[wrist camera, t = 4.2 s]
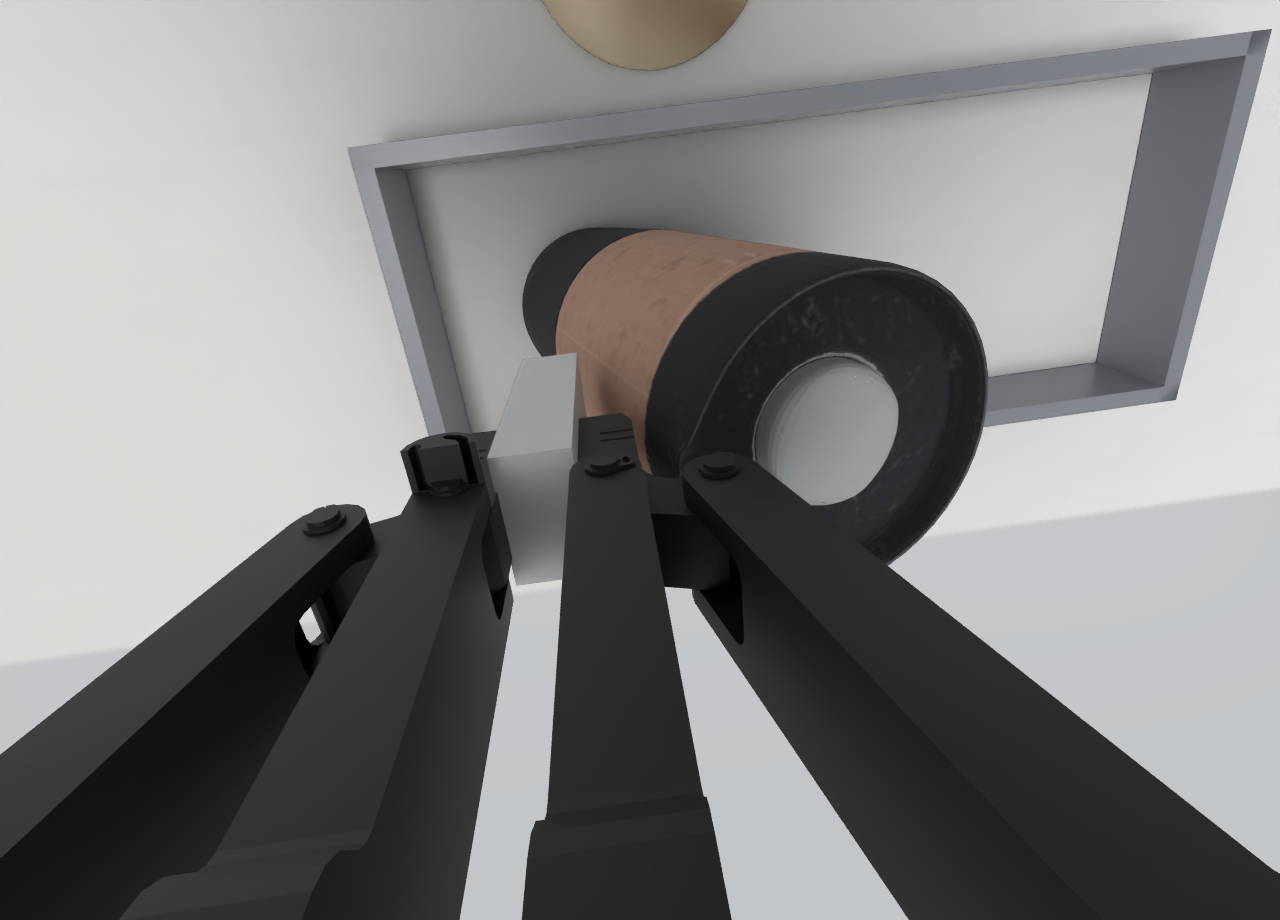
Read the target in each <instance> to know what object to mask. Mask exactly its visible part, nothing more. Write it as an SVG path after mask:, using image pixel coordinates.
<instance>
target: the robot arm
mask: <svg viewBox="0 0 1280 920" xmlns="http://www.w3.org/2000/svg"><path fill="white" fill-rule="evenodd" d="M400 452H401V456H402V459H403V462H404V466H405V469H406V473H407V476H408V479H409V483H410V486H411V489H412V495H411V497H410V499H409V501H408V502H407V504H406V506H405V508H404V510H403V511H402V513H401V515H399V516H396V517H393V518H389V519H386V520H382V521H378V522H375V523H371V524H370V523H369V520H368V517H367V514H366V511H365V509H364V508H362V507H360V506H359V505H350V504H345V505H329V506H326V508H324V507H321V508H318V509H315V510H314V511H313V512H312V513H309V514H307V515H305V516H302V517H301V518H299V519H298V520H296V521H295V522H293V523H291V524H290V525H289V526H288V527H286V528H285V529H284V530H282V531H281V532H280V533H279V534H277V535H276V536H275V537H274V538H272V539H271V540H270V541H269V542H267V543H266V544H265V545H264V546H262V547H261V548H260V549H259V550H257V551H256V552H255V553H254V554H252V555H251V556H250V557H248V558H247V559H246V560H245V561H243V562H242V563H241V564H240V565H238V566H237V567H236V568H235V569H233V570H232V571H231V572H230V573H228V574H227V575H226V576H225V577H223V578H222V579H221V580H220V581H218V582H217V583H216V584H215V585H213V586H212V587H211V588H209V589H208V590H207V591H206V592H204V593H203V594H202V595H201V596H199V597H198V598H197V599H196V600H194V601H193V602H192V603H191V604H189V605H188V606H187V607H186V608H184V609H183V610H182V611H181V612H179V613H178V614H177V615H175V616H174V617H173V618H172V619H170V620H169V621H168V622H167V623H165V624H164V625H163V626H162V627H160V628H159V629H158V630H157V631H155V632H154V633H153V634H152V635H150V636H149V637H148V638H147V639H145V640H144V641H143V642H142V643H140V644H139V645H138V646H136V647H135V648H134V649H133V650H131V651H130V652H129V653H128V654H127V655H125V656H124V657H123V658H121V659H120V660H119V661H118V662H116V663H115V664H114V665H113V666H111V667H110V668H109V669H108V670H106V671H105V672H104V673H103V674H101V675H100V676H99V677H97V678H96V679H95V680H94V681H92V682H91V683H90V684H89V685H87V686H86V687H85V688H84V689H82V690H81V691H80V692H79V693H77V694H76V695H75V696H74V697H72V698H71V699H70V700H69V701H67V702H66V703H65V704H64V705H62V706H61V707H60V708H58V709H57V710H56V711H55V712H54V713H52V714H51V715H50V716H48V717H47V718H46V719H45V720H43V721H42V722H41V723H40V724H38V725H37V726H36V727H35V728H33V729H32V730H31V731H30V732H28V733H27V734H26V735H24V736H23V737H22V738H21V739H19V740H18V741H17V742H16V743H14V744H13V745H12V746H11V747H9V748H8V749H7V750H6V751H4V752H3V753H2V754H1V755H0V920H459V919H460V913H461V907H462V901H463V896H464V890H465V883H466V878H467V872H468V866H469V860H470V854H471V848H472V842H473V837H474V830H475V825H476V819H477V813H478V807H479V801H480V795H481V789H482V783H483V778H484V771H485V765H486V760H487V754H488V748H489V742H490V736H491V730H492V724H493V719H494V713H495V707H496V701H497V695H498V689H499V683H500V677H501V671H502V665H503V659H504V654H505V648H506V642H507V636H508V630H509V624H510V618H511V612H512V606H513V595H512V590H511V586H510V582H509V578H508V577H509V572H510V567H511V564H512V569H513V573H514V577H515V582H516V586H517V585H524V584H531V583H539V582H546V581H554V580H561V579H562V593H561V609H560V624H559V639H558V654H557V669H556V685H555V701H554V716H553V731H552V747H551V761H550V776H549V777H550V778H549V792H548V805H547V813H546V817H545V820H540V821H536V822H535V824H534V827H533V830H532V832H531V837H530V844H529V850H528V858H527V868H526V880H525V890H524V901H523V912H522V920H732V919H731V914H730V909H729V904H728V899H727V894H726V888H725V883H724V878H723V873H722V868H721V862H720V857H719V852H718V847H717V842H716V836H715V831H714V827H713V822H712V817H711V813H710V808H709V804H708V801H707V797H704V795H703V792H702V787H701V782H700V776H699V771H698V766H697V760H696V755H695V749H694V744H693V739H692V733H691V728H690V723H689V718H688V712H687V706H686V701H685V696H684V690H683V685H682V679H681V675H680V669H679V663H678V658H677V653H676V647H675V642H674V636H673V631H672V625H671V620H670V615H669V609H668V604H667V598H666V593H665V588H664V587H675V588H687V589H692V595H693V598H694V601H695V604H696V605H697V607H698V608H699V610H700V611H701V613H702V614H703V616H704V617H705V619H706V620H707V621H708V623H709V624H710V626H711V627H712V629H713V630H714V632H715V633H716V635H717V636H718V638H719V639H720V641H721V642H722V644H723V645H724V647H725V648H726V650H727V651H728V652H729V654H730V656H731V657H732V658H733V660H734V661H735V663H736V664H737V666H738V667H739V669H740V670H741V672H742V673H743V675H744V676H745V678H746V679H747V681H748V682H749V684H750V685H751V687H752V688H753V690H754V691H755V693H756V694H757V696H758V697H759V698H760V700H761V701H762V703H763V704H764V706H765V707H766V709H767V710H768V712H769V713H770V715H771V716H772V718H773V719H774V721H775V722H776V724H777V725H778V727H779V728H780V729H781V731H782V733H783V734H784V735H785V737H786V738H787V740H788V741H789V743H790V744H791V746H792V747H793V749H794V750H795V752H796V753H797V755H798V756H799V758H800V759H801V761H802V762H803V764H804V765H805V767H806V768H807V770H808V771H809V772H810V774H811V775H812V777H813V778H814V780H815V781H816V783H817V784H818V786H819V787H820V789H821V790H822V791H823V793H824V795H825V796H826V797H827V799H828V800H829V802H830V804H831V805H832V807H833V808H834V810H835V811H836V812H837V814H838V815H839V817H840V818H841V820H842V821H843V823H844V824H845V826H846V827H847V829H848V830H849V832H850V833H851V835H852V836H853V837H854V839H855V841H856V842H857V844H858V845H859V847H860V848H861V849H862V851H863V852H864V854H865V855H866V857H867V858H868V860H869V861H870V863H871V864H872V866H873V867H874V869H875V870H876V872H877V873H878V874H879V876H880V878H881V879H882V881H883V882H884V883H885V885H886V887H887V888H888V889H889V891H890V892H891V894H892V895H893V897H894V898H895V900H896V901H897V903H898V904H899V906H900V907H901V909H902V910H903V912H904V913H905V915H906V916H907V918H908V919H909V920H1280V873H1278V872H1276V871H1274V870H1273V869H1271V868H1270V867H1269V866H1267V865H1266V864H1265V863H1264V862H1262V861H1261V860H1260V859H1259V858H1257V857H1256V856H1255V855H1253V854H1252V853H1251V852H1250V851H1248V850H1247V849H1246V848H1245V847H1243V846H1242V845H1241V844H1240V843H1238V842H1237V841H1236V840H1234V839H1233V838H1232V837H1231V836H1229V835H1228V834H1227V833H1226V832H1224V831H1223V830H1222V829H1221V828H1219V827H1218V826H1217V825H1215V824H1214V823H1213V822H1212V821H1210V820H1209V819H1208V818H1207V817H1205V816H1204V815H1203V814H1201V813H1200V812H1199V811H1198V810H1196V809H1195V808H1194V807H1193V806H1191V805H1190V804H1189V803H1188V802H1186V801H1185V800H1184V799H1183V798H1181V797H1180V796H1179V795H1177V794H1176V793H1175V792H1174V791H1172V790H1171V789H1170V788H1168V787H1167V786H1166V785H1165V784H1164V783H1162V782H1161V781H1160V780H1158V779H1157V778H1156V777H1155V776H1153V775H1152V774H1151V773H1149V772H1148V771H1147V770H1146V769H1144V768H1143V767H1142V766H1141V765H1139V764H1138V763H1137V762H1136V761H1134V760H1133V759H1132V758H1130V757H1129V756H1128V755H1127V754H1125V753H1124V752H1123V751H1122V750H1120V749H1119V748H1118V747H1117V746H1115V745H1114V744H1113V743H1112V742H1110V741H1109V740H1108V739H1106V738H1105V737H1104V736H1103V735H1101V734H1100V733H1099V732H1098V731H1096V730H1095V729H1094V728H1093V727H1091V726H1090V725H1089V724H1087V723H1086V722H1085V721H1083V720H1082V719H1081V718H1080V717H1078V716H1077V715H1076V714H1075V713H1073V712H1072V711H1071V710H1070V709H1068V708H1067V707H1066V706H1064V705H1063V704H1062V703H1061V702H1059V701H1058V700H1057V699H1056V698H1054V697H1053V696H1052V695H1051V694H1049V693H1048V692H1047V691H1046V690H1044V689H1043V688H1042V687H1040V686H1039V685H1038V684H1037V683H1035V682H1034V681H1033V680H1032V679H1030V678H1029V677H1028V676H1026V675H1025V674H1024V673H1023V672H1021V671H1020V670H1019V669H1018V668H1016V667H1015V666H1014V665H1012V664H1011V663H1010V662H1009V661H1008V660H1006V659H1005V658H1004V657H1002V656H1001V655H1000V654H999V653H997V652H996V651H995V650H994V649H992V648H991V647H990V646H989V645H987V644H986V643H985V642H983V641H982V640H981V639H980V638H978V637H977V636H976V635H975V634H973V633H972V632H971V631H970V630H968V629H967V628H966V627H964V626H963V625H962V624H961V623H959V622H958V621H957V620H956V619H954V618H953V617H952V616H951V615H949V614H948V613H947V612H945V611H944V610H943V609H942V608H940V607H939V606H938V605H937V604H935V603H934V602H933V601H931V600H930V599H929V598H928V597H926V596H925V595H924V594H923V593H921V592H920V591H919V590H918V589H916V588H915V587H914V586H913V585H911V584H910V583H909V582H907V581H906V580H905V579H903V578H902V577H901V576H900V575H899V574H897V573H896V572H895V571H893V570H892V569H891V568H890V567H888V566H887V565H886V564H885V563H883V562H882V561H881V560H880V559H878V558H877V557H876V556H874V555H873V554H872V553H871V552H869V551H868V550H867V549H866V548H864V547H863V546H862V545H861V544H859V543H858V542H857V541H855V540H854V539H853V538H852V537H850V536H849V535H848V534H847V533H845V532H844V531H843V530H842V529H840V528H839V527H838V526H836V525H835V524H834V523H833V522H831V521H830V520H829V519H828V518H826V517H825V516H824V515H823V514H821V513H820V512H819V511H817V510H816V509H815V508H814V507H812V506H811V505H810V504H809V503H807V502H806V501H805V500H804V499H802V498H801V497H800V496H798V495H797V494H796V493H795V492H793V491H792V490H791V489H790V488H788V487H787V486H786V485H784V484H783V483H782V482H781V481H779V480H778V479H777V478H776V477H774V476H773V475H772V474H771V473H769V472H768V471H767V470H765V469H764V468H763V467H762V466H760V465H759V464H758V463H757V462H755V461H754V460H752V459H750V458H748V457H746V456H743V455H738V454H733V453H731V452H724V453H722V452H715V453H712V454H709V455H704V456H701V457H698V458H695V459H692V460H691V461H690V462H688V463H687V464H685V465H684V467H683V469H682V471H681V472H682V479H679V478H664V477H659V476H655V475H652V474H650V473H647V472H646V471H644V470H643V469H642V464H641V461H640V460H639V457H638V452H637V446H636V441H635V436H634V430H633V425H632V420H631V419H630V418H628V417H627V416H625V415H624V414H622V413H616V414H608V415H600V416H592V417H587V415H586V409H585V402H584V396H583V389H582V383H581V376H580V370H579V363H578V357H577V353H569V354H562V355H554V356H546V357H538V358H530V359H522V361H521V364H520V367H519V370H518V373H517V375H516V378H515V381H514V384H513V387H512V389H511V392H510V395H509V398H508V401H507V403H506V406H505V409H504V412H503V415H502V417H501V420H500V423H499V426H498V429H497V431H489V432H481V433H473V434H469V433H462V432H450V433H442V434H437V435H432V436H429V437H426V438H423V439H419V440H417V441H415V442H413V443H411V444H409V445H407V446H406V447H405V448H404V449H403V450H402V451H400ZM310 607H311V609H312V611H313V614H314V616H315V618H316V621H317V623H318V626H319V628H320V631H321V634H320V635H319V636H318V637H317V638H316V639H315V640H314V641H312V642H311V643H310V642H309V641H308V640H307V639H306V637H305V634H304V632H303V629H302V627H301V625H300V622H299V620H300V619H301V617H302V616H303V614H304V613H305V612H306V611H307V610H308V609H309V608H310Z"/></svg>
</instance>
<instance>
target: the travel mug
mask: <svg viewBox="0 0 1280 920" xmlns="http://www.w3.org/2000/svg"><path fill="white" fill-rule="evenodd" d="M522 306H523V316H524V321H525V325H526V328H527V331H528V334H529V336H530V338H531V340H532V342H533V344H534V346H535V347H536V349H537V350H538V352H539V353H540V355H541V356H542V357H546V356H554V355H562V354H569V353H577V357H578V363H579V370H580V376H581V383H582V389H583V396H584V402H585V409H586V415H587V417H592V416H600V415H608V414H616V413H622V414H624V415H625V416H627V417H628V418H630V419H631V420H632V425H633V430H634V436H635V441H636V446H637V452H638V457H639V460H640V461H641V464H642V469H643V470H644V471H646V472H647V473H650V474H652V475H655V476H659V477H664V478H679V479H682V472H681V471H682V469H683V467H684V465H685V464H687V463H688V462H690V461H691V460H692V459H695V458H698V457H701V456H704V455H709V454H712V453H715V452H722V453H724V452H731V453H733V454H738V455H743V456H746V457H748V458H750V459H752V460H754V461H755V462H757V463H758V464H759V465H760V466H762V467H763V468H764V469H765V470H767V471H768V472H769V473H771V474H772V475H773V476H774V477H776V478H777V479H778V480H779V481H781V482H782V483H783V484H784V485H786V486H787V487H788V488H790V489H791V490H792V491H793V492H795V493H796V494H797V495H798V496H800V497H801V498H802V499H804V500H805V501H806V502H807V503H809V504H810V505H811V506H812V507H814V508H815V509H816V510H817V511H819V512H820V513H821V514H823V515H824V516H825V517H826V518H828V519H829V520H830V521H831V522H833V523H834V524H835V525H836V526H838V527H839V528H840V529H842V530H843V531H844V532H845V533H847V534H848V535H849V536H850V537H852V538H853V539H854V540H855V541H857V542H858V543H859V544H861V545H862V546H863V547H864V548H866V549H867V550H868V551H869V552H871V553H872V554H873V555H874V556H876V557H877V558H878V559H880V560H881V561H882V562H883V563H885V564H886V565H887V566H888V565H889V564H891V563H892V562H893V561H895V560H896V559H898V558H899V557H900V556H902V555H903V554H904V553H905V552H906V551H908V550H909V549H910V548H911V547H912V546H913V545H914V544H915V543H916V542H918V541H919V540H920V539H921V538H922V537H923V536H924V534H925V533H926V532H927V531H928V530H929V529H930V528H931V527H932V526H933V525H934V524H935V522H936V521H937V520H938V518H939V517H940V516H941V515H942V513H943V512H944V511H945V509H946V508H947V507H948V505H949V503H950V502H951V500H952V499H953V497H954V496H955V494H956V493H957V491H958V489H959V487H960V486H961V484H962V482H963V480H964V478H965V476H966V474H967V472H968V470H969V468H970V465H971V463H972V461H973V458H974V456H975V453H976V450H977V447H978V444H979V441H980V438H981V435H982V430H983V426H984V421H985V416H986V409H987V400H988V372H987V363H986V356H985V352H984V348H983V344H982V340H981V338H980V335H979V333H978V330H977V328H976V326H975V323H974V321H973V320H972V318H971V316H970V315H969V313H968V312H967V310H966V308H965V307H964V306H963V305H962V303H961V302H960V301H959V300H958V299H957V298H956V297H955V295H954V294H953V293H952V292H951V291H949V290H948V289H947V288H946V287H944V286H943V285H942V284H941V283H939V282H938V281H937V280H935V279H933V278H931V277H929V276H927V275H925V274H923V273H921V272H919V271H917V270H914V269H911V268H908V267H904V266H901V265H898V264H894V263H890V262H884V261H877V260H870V259H863V258H856V257H849V256H842V255H836V254H828V253H822V252H815V251H808V250H801V249H795V248H788V247H781V246H774V245H767V244H761V243H754V242H747V241H740V240H733V239H727V238H720V237H713V236H706V235H699V234H693V233H686V232H679V231H671V230H661V229H628V228H588V229H582V230H577V231H574V232H571V233H568V234H566V235H564V236H562V237H560V238H558V239H557V240H555V241H554V242H553V243H551V244H550V245H549V246H548V247H547V248H546V249H544V251H543V252H542V253H541V254H540V255H539V256H538V258H537V259H536V261H535V262H534V264H533V265H532V267H531V269H530V272H529V274H528V276H527V279H526V283H525V286H524V292H523V304H522Z"/></svg>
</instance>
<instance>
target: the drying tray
mask: <svg viewBox="0 0 1280 920" xmlns="http://www.w3.org/2000/svg"><path fill="white" fill-rule="evenodd" d="M1271 30H1272V29H1268V30H1260V31H1252V32H1244V33H1237V34H1229V35H1221V36H1213V37H1206V38H1198V39H1190V40H1182V41H1174V42H1167V43H1159V44H1151V45H1143V46H1135V47H1128V48H1120V49H1112V50H1104V51H1097V52H1089V53H1081V54H1073V55H1065V56H1058V57H1050V58H1042V59H1034V60H1027V61H1019V62H1011V63H1003V64H995V65H988V66H980V67H972V68H964V69H957V70H949V71H941V72H933V73H925V74H918V75H910V76H902V77H894V78H887V79H879V80H871V81H863V82H855V83H848V84H840V85H832V86H824V87H817V88H809V89H801V90H793V91H785V92H778V93H770V94H762V95H754V96H746V97H739V98H731V99H723V100H715V101H708V102H700V103H692V104H684V105H676V106H669V107H661V108H653V109H645V110H638V111H630V112H622V113H614V114H606V115H599V116H591V117H583V118H575V119H568V120H560V121H552V122H544V123H536V124H529V125H521V126H513V127H505V128H498V129H490V130H482V131H474V132H466V133H459V134H451V135H443V136H435V137H428V138H420V139H412V140H404V141H396V142H389V143H381V144H373V145H365V146H358V147H350V148H347V149H348V153H349V156H350V160H351V163H352V167H353V171H354V174H355V178H356V181H357V185H358V188H359V192H360V195H361V199H362V202H363V206H364V209H365V213H366V216H367V220H368V223H369V227H370V230H371V234H372V237H373V241H374V245H375V248H376V252H377V255H378V259H379V262H380V266H381V269H382V273H383V276H384V280H385V283H386V287H387V290H388V294H389V297H390V301H391V304H392V308H393V311H394V315H395V318H396V322H397V326H398V329H399V333H400V336H401V340H402V343H403V347H404V350H405V354H406V357H407V361H408V364H409V368H410V371H411V375H412V378H413V382H414V385H415V389H416V392H417V396H418V400H419V403H420V407H421V410H422V414H423V417H424V421H425V424H426V428H427V431H428V435H429V436H432V435H437V434H442V433H450V432H462V433H469V434H471V430H470V426H469V422H468V418H467V414H466V410H465V406H464V402H463V398H462V394H461V390H460V386H459V382H458V378H457V374H456V370H455V366H454V362H453V358H452V354H451V350H450V346H449V342H448V338H447V335H446V331H445V327H444V323H443V319H442V315H441V311H440V307H439V303H438V299H437V295H436V291H435V287H434V283H433V279H432V275H431V271H430V267H429V263H428V259H427V255H426V251H425V247H424V243H423V239H422V235H421V231H420V227H419V223H418V219H417V215H416V212H415V208H414V204H413V200H412V196H411V192H410V188H409V184H408V180H407V176H406V172H405V170H407V169H415V168H422V167H430V166H438V165H446V164H453V163H461V162H469V161H476V160H484V159H492V158H500V157H507V156H515V155H523V154H530V153H538V152H546V151H554V150H561V149H569V148H577V147H584V146H592V145H600V144H608V143H615V142H623V141H631V140H638V139H646V138H654V137H662V136H669V135H677V134H685V133H692V132H700V131H708V130H716V129H723V128H731V127H739V126H746V125H754V124H762V123H770V122H777V121H785V120H793V119H800V118H808V117H816V116H824V115H831V114H839V113H847V112H854V111H862V110H870V109H878V108H885V107H893V106H901V105H909V104H916V103H924V102H932V101H939V100H947V99H955V98H963V97H970V96H978V95H986V94H993V93H1001V92H1009V91H1017V90H1024V89H1032V88H1040V87H1047V86H1055V85H1063V84H1071V83H1078V82H1086V81H1094V80H1101V79H1109V78H1117V77H1125V76H1132V75H1140V74H1148V73H1153V76H1152V81H1151V86H1150V91H1149V96H1148V101H1147V107H1146V112H1145V117H1144V122H1143V127H1142V132H1141V137H1140V142H1139V147H1138V152H1137V157H1136V163H1135V168H1134V173H1133V178H1132V183H1131V188H1130V193H1129V198H1128V203H1127V208H1126V213H1125V219H1124V224H1123V229H1122V234H1121V239H1120V244H1119V249H1118V254H1117V259H1116V264H1115V269H1114V274H1113V280H1112V285H1111V290H1110V295H1109V300H1108V305H1107V310H1106V315H1105V320H1104V325H1103V330H1102V336H1101V341H1100V346H1099V351H1098V356H1097V361H1096V363H1089V364H1082V365H1075V366H1068V367H1061V368H1054V369H1046V370H1039V371H1032V372H1025V373H1018V374H1011V375H1004V376H996V377H989V378H988V400H987V409H986V416H985V421H984V426H983V427H988V426H995V425H1002V424H1009V423H1016V422H1023V421H1030V420H1037V419H1044V418H1051V417H1058V416H1065V415H1073V414H1080V413H1087V412H1094V411H1101V410H1108V409H1115V408H1122V407H1129V406H1136V405H1143V404H1150V403H1157V402H1164V401H1171V400H1176V397H1177V393H1178V389H1179V386H1180V382H1181V378H1182V374H1183V370H1184V366H1185V362H1186V359H1187V355H1188V351H1189V347H1190V343H1191V339H1192V335H1193V332H1194V328H1195V324H1196V320H1197V316H1198V312H1199V308H1200V304H1201V301H1202V297H1203V293H1204V289H1205V285H1206V281H1207V277H1208V274H1209V270H1210V266H1211V262H1212V258H1213V254H1214V250H1215V247H1216V243H1217V239H1218V235H1219V231H1220V227H1221V223H1222V219H1223V216H1224V212H1225V208H1226V204H1227V200H1228V196H1229V192H1230V189H1231V185H1232V181H1233V177H1234V173H1235V169H1236V165H1237V162H1238V158H1239V154H1240V150H1241V146H1242V142H1243V138H1244V134H1245V131H1246V127H1247V123H1248V119H1249V115H1250V111H1251V107H1252V104H1253V100H1254V96H1255V92H1256V88H1257V84H1258V80H1259V77H1260V73H1261V69H1262V65H1263V61H1264V57H1265V53H1266V49H1267V46H1268V42H1269V38H1270V34H1271Z"/></svg>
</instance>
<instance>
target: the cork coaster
mask: <svg viewBox="0 0 1280 920" xmlns="http://www.w3.org/2000/svg"><path fill="white" fill-rule="evenodd" d="M543 2H544V4H545V6H546V8H547V9H548V11H549V12H550V14H551V15H552V17H553V18H554V20H555V21H556V22H557V24H558V25H559V26H560V27H561V28H562V29H563V30H564V32H565V33H566V34H567V35H568V36H569V37H570V38H571V39H572V40H573V41H575V42H576V43H577V44H578V45H579V46H580V47H581V48H583V49H584V50H586V51H587V52H589V53H590V54H592V55H593V56H595V57H597V58H599V59H601V60H603V61H605V62H607V63H610V64H613V65H616V66H619V67H623V68H628V69H635V70H656V69H663V68H668V67H671V66H675V65H678V64H681V63H683V62H685V61H687V60H690V59H692V58H694V57H696V56H697V55H699V54H700V53H702V52H703V51H705V50H706V49H708V48H709V47H710V46H711V45H712V44H713V43H715V42H716V41H717V40H718V39H719V38H720V37H721V36H722V35H723V34H724V33H725V32H726V30H727V29H728V28H729V27H730V26H731V25H732V24H733V22H734V21H735V20H736V18H737V17H738V15H739V14H740V12H741V11H742V9H743V8H744V6H745V4H746V2H747V0H543Z"/></svg>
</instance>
